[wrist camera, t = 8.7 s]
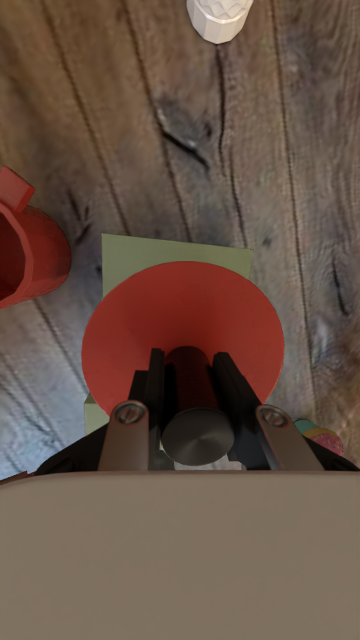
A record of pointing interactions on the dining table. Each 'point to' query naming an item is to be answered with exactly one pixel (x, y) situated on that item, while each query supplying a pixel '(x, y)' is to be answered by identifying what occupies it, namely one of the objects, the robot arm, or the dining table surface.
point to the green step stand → (140, 253)
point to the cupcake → (320, 436)
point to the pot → (28, 245)
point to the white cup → (218, 18)
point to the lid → (184, 349)
